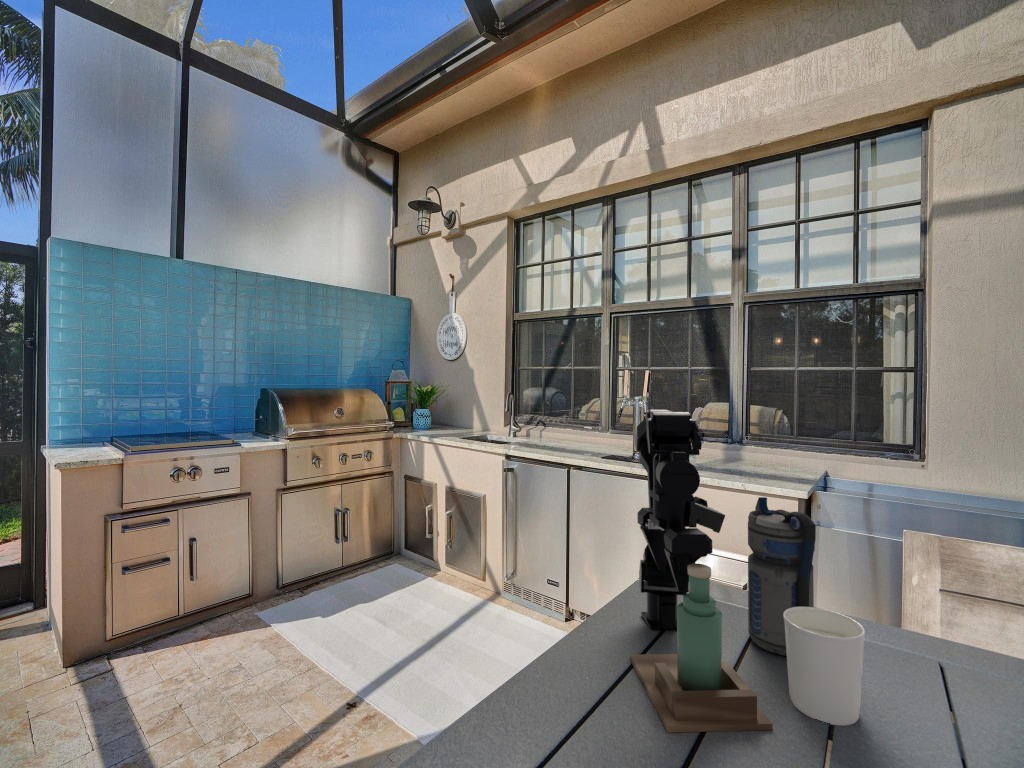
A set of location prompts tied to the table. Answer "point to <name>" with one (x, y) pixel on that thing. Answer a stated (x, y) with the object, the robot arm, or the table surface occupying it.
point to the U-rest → (698, 699)
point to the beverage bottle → (778, 571)
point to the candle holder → (824, 663)
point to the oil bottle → (699, 635)
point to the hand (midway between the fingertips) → (671, 580)
